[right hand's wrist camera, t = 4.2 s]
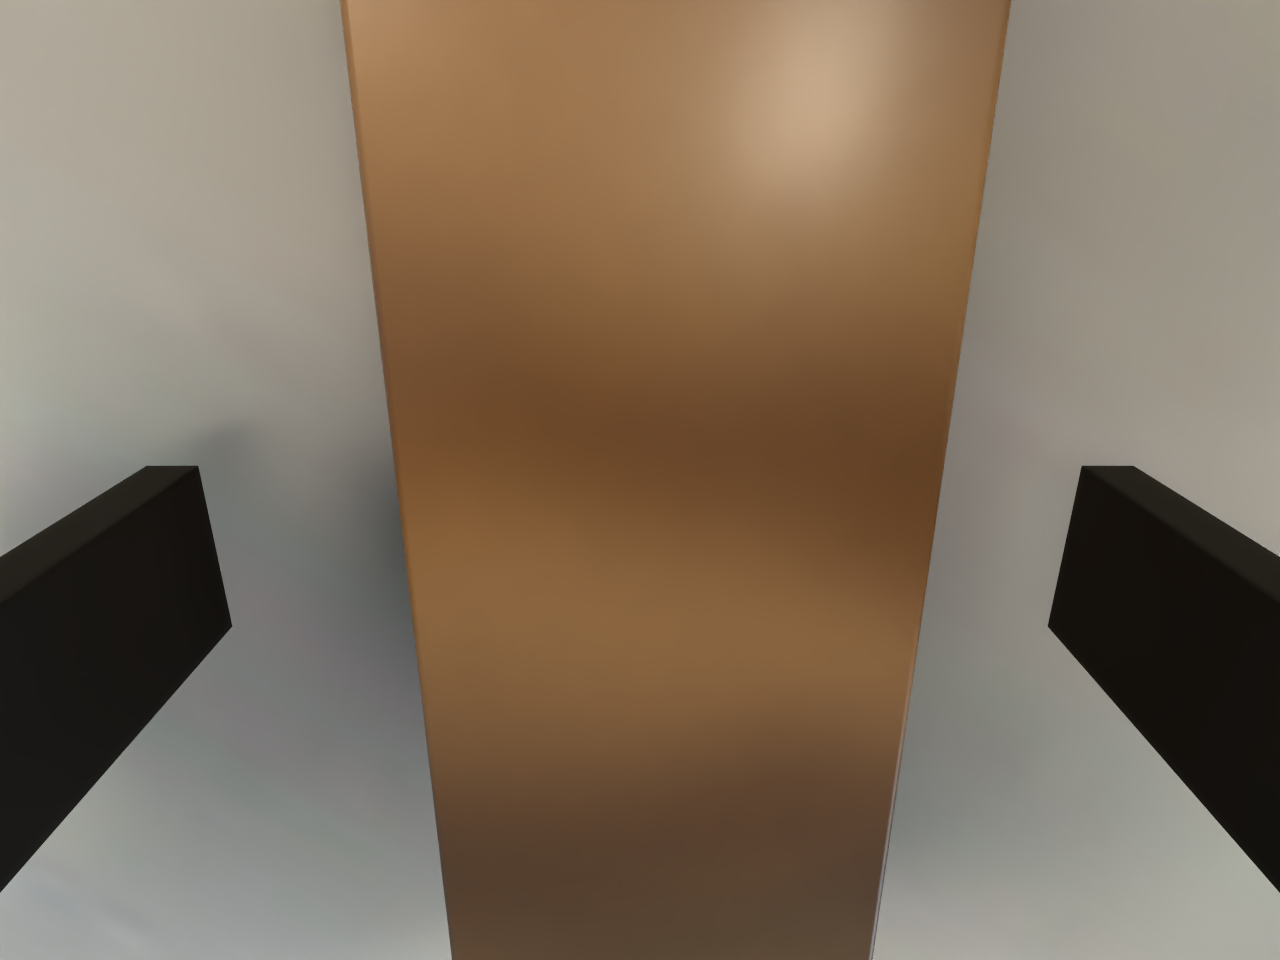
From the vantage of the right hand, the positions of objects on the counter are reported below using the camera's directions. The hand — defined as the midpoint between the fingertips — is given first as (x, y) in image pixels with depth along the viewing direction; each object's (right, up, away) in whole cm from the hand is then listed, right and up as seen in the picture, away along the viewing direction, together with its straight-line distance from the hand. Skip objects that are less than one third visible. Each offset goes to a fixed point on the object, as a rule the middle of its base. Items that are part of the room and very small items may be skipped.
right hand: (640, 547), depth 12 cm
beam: (0, +20, -4) cm, 20 cm away
